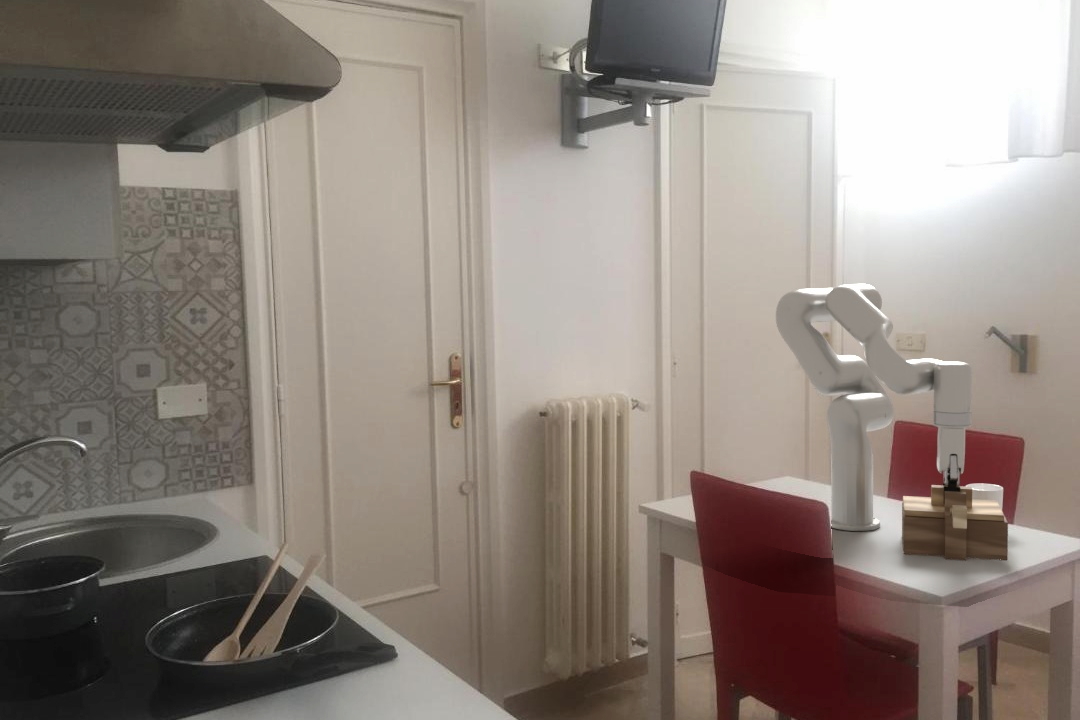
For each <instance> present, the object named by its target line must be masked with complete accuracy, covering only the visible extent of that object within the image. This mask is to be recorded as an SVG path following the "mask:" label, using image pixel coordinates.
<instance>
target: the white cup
mask: <svg viewBox="0 0 1080 720" xmlns="http://www.w3.org/2000/svg"><path fill="white" fill-rule="evenodd" d="M965 487H972V499H974V500H994V501H997V502H998V504H999V506H1000V508H1001V510H1002V511H1003V503H1004V502H1003V500H1004V499H1003V498H1004V487H1003V486H1001V485H998V484H992V483H983V482H982V483H969V484H966V485H965Z"/></svg>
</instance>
